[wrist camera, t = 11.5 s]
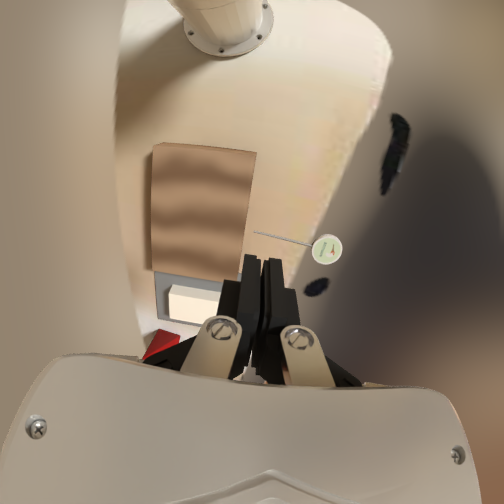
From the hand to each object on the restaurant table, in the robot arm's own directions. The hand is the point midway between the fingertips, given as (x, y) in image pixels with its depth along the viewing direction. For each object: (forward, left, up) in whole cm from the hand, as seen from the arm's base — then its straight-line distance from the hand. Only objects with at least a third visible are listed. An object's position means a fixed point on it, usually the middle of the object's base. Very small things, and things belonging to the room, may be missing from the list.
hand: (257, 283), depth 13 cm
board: (+8, -8, -29) cm, 31 cm away
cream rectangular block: (+26, -8, -26) cm, 37 cm away
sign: (+11, +8, -30) cm, 33 cm away
